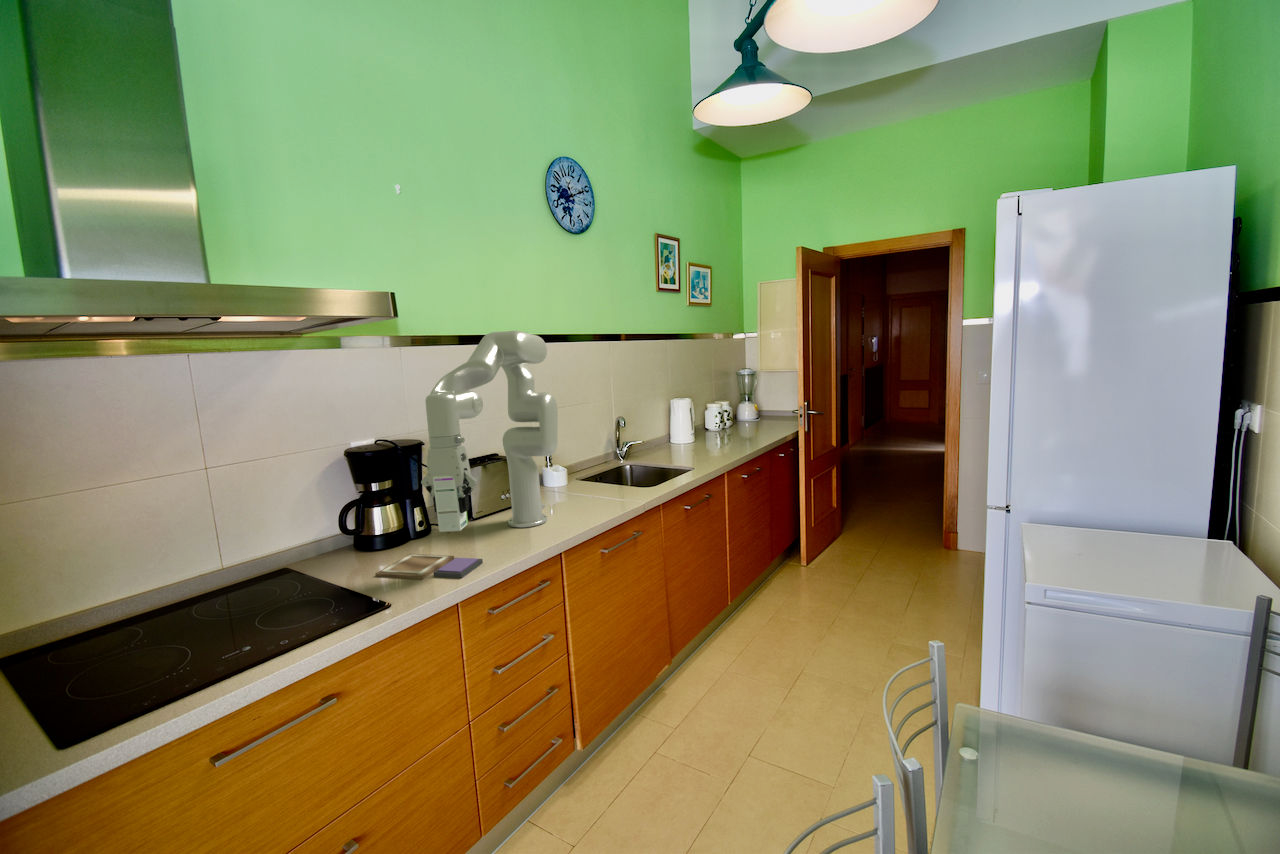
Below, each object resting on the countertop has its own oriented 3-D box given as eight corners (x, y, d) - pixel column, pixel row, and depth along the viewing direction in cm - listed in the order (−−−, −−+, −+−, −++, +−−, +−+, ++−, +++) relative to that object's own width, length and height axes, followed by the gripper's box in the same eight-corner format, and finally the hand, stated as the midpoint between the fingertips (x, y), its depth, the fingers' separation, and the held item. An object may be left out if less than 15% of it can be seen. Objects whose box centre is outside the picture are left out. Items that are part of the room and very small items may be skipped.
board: (410, 556, 158) (410, 552, 158) (454, 558, 154) (453, 554, 154) (375, 576, 144) (375, 572, 144) (422, 579, 141) (421, 575, 140)
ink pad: (433, 576, 142) (433, 571, 142) (456, 561, 152) (455, 556, 151) (461, 578, 140) (461, 572, 140) (482, 563, 149) (482, 557, 149)
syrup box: (461, 531, 141) (455, 474, 139) (437, 532, 141) (432, 475, 139) (468, 524, 146) (463, 470, 145) (446, 525, 147) (440, 471, 145)
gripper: (483, 439, 142) (489, 507, 144) (425, 440, 147) (431, 506, 149) (467, 444, 135) (473, 516, 137) (406, 445, 140) (413, 514, 142)
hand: (451, 510), depth 143 cm, fingers closed on syrup box, 6 cm apart
